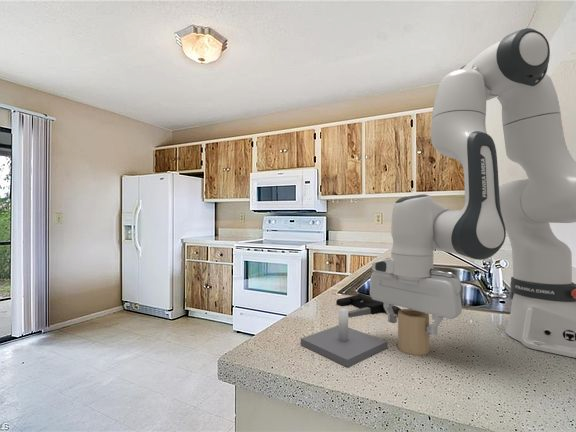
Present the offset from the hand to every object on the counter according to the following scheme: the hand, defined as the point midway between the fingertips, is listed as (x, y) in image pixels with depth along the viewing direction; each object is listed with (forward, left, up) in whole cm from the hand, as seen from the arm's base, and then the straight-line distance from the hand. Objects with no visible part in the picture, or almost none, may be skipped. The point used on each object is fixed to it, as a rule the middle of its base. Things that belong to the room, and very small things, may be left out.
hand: (411, 328), depth 69 cm
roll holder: (+11, +11, -5) cm, 16 cm away
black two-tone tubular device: (+25, -15, -5) cm, 30 cm away
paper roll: (0, 0, -5) cm, 5 cm away
